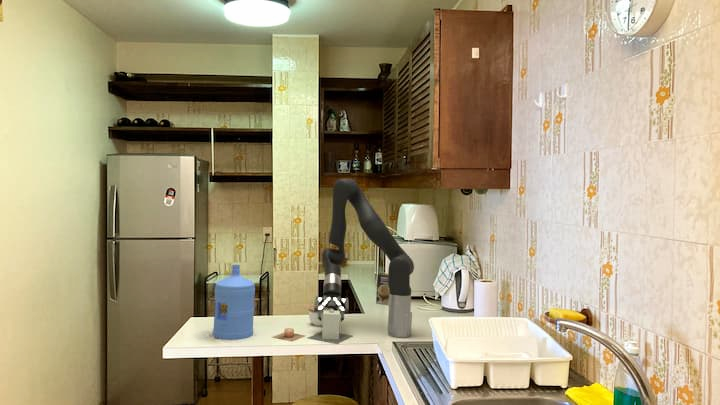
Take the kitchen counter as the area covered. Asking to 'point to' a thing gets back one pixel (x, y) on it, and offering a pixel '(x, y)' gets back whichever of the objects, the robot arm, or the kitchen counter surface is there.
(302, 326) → the kitchen counter surface
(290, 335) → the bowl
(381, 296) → the coffee box
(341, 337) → the mat
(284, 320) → the kitchen counter surface
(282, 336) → the coaster
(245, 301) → the water jug
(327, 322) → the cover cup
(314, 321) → the lidded jar
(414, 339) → the kitchen counter surface
